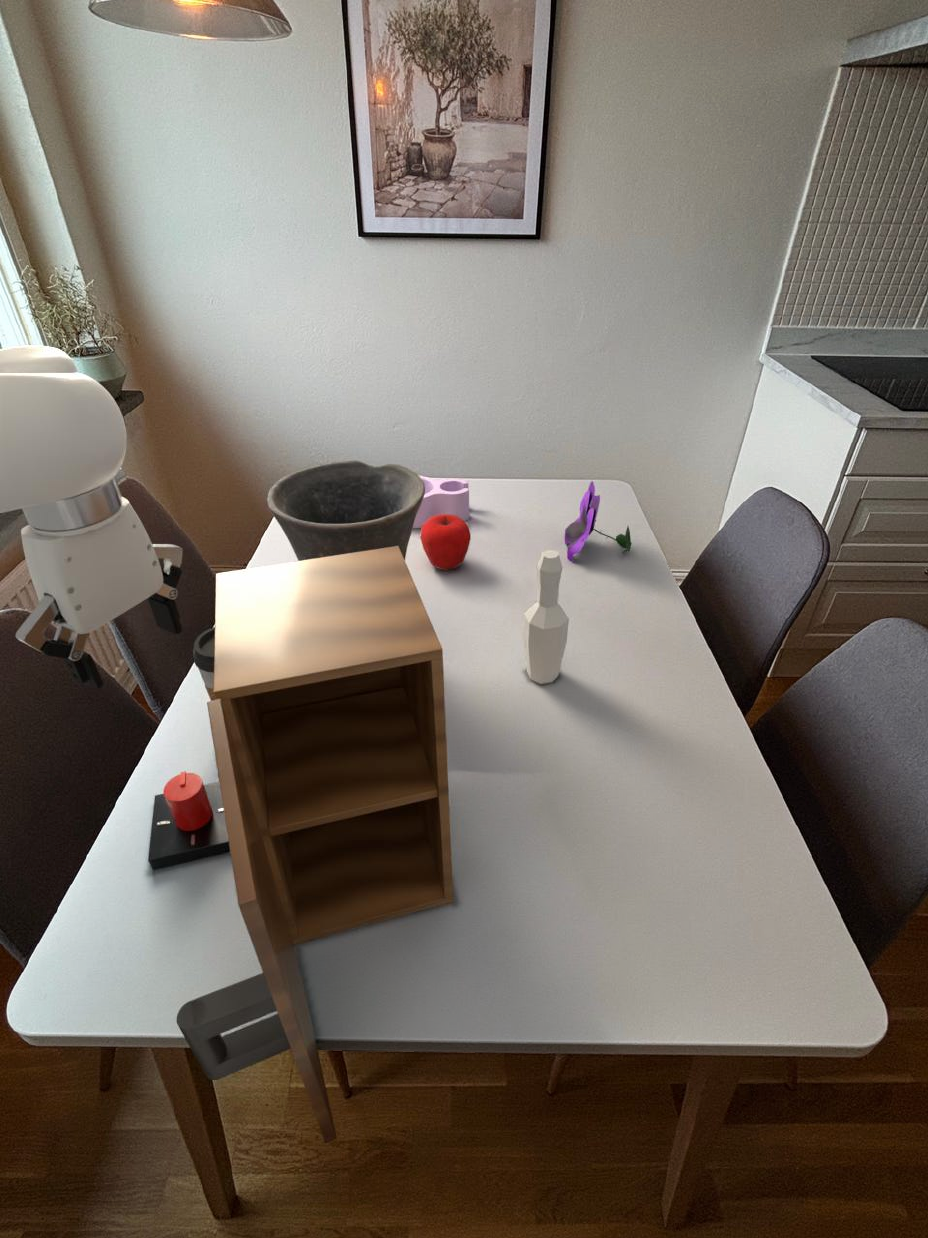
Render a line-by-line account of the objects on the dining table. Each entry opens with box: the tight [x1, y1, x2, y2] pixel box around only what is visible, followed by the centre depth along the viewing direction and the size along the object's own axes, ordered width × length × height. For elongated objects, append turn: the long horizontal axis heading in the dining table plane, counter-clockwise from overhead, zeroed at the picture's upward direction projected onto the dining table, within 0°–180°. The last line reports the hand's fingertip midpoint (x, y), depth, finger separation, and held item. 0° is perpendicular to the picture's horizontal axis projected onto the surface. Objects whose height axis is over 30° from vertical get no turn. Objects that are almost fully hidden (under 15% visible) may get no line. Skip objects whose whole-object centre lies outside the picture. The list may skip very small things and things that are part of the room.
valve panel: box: [147, 781, 230, 871], centre depth 85 cm, size 10×10×2 cm
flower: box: [564, 480, 633, 563], centre depth 137 cm, size 15×15×14 cm
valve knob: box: [163, 770, 213, 831], centre depth 82 cm, size 4×4×6 cm
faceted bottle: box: [522, 549, 570, 685], centre depth 102 cm, size 6×6×22 cm
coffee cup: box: [192, 626, 216, 701], centre depth 96 cm, size 8×8×15 cm
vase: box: [266, 460, 425, 561], centre depth 104 cm, size 22×22×30 cm
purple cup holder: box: [412, 475, 470, 529], centre depth 152 cm, size 20×12×7 cm, turn 91°
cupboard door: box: [176, 699, 337, 1144], centre depth 54 cm, size 8×18×36 cm, turn 23°
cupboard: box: [214, 546, 454, 946], centre depth 71 cm, size 18×18×36 cm
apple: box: [419, 514, 472, 571], centre depth 133 cm, size 10×10×11 cm
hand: (132, 655), depth 69 cm, fingers open, 9 cm apart
